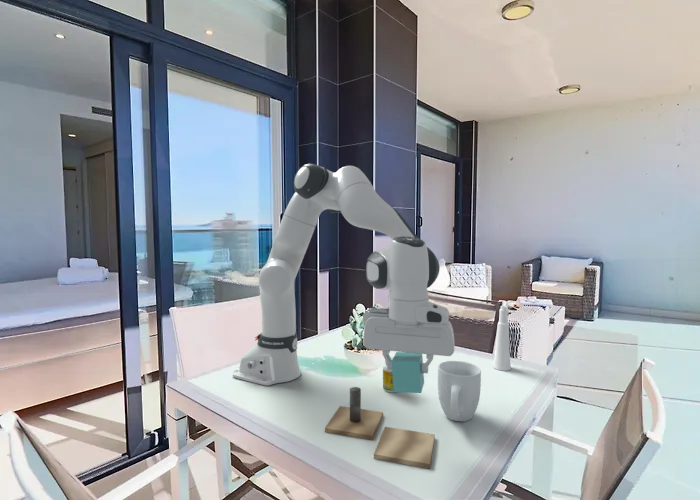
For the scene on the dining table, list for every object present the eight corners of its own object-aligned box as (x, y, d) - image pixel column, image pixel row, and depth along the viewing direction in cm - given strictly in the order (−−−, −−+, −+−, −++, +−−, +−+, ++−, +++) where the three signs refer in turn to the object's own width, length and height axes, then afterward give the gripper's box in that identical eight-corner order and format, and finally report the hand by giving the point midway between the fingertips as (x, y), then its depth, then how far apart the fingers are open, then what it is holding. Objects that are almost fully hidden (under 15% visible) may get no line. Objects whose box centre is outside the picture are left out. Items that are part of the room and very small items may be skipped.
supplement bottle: (392, 384, 125) (392, 354, 124) (403, 390, 120) (404, 359, 120) (379, 388, 122) (379, 357, 121) (390, 394, 118) (390, 363, 117)
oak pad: (373, 458, 86) (373, 454, 86) (385, 430, 97) (385, 426, 97) (429, 468, 83) (429, 464, 82) (434, 438, 94) (434, 434, 94)
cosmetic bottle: (488, 366, 140) (490, 305, 139) (501, 363, 143) (503, 303, 142) (502, 372, 135) (504, 309, 133) (514, 369, 138) (517, 307, 136)
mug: (477, 437, 94) (478, 384, 93) (431, 428, 98) (432, 377, 97) (480, 410, 108) (482, 363, 107) (440, 403, 112) (441, 358, 111)
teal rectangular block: (393, 391, 87) (391, 361, 87) (398, 381, 93) (396, 352, 93) (421, 393, 86) (418, 361, 85) (424, 382, 91) (422, 352, 91)
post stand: (324, 431, 97) (324, 396, 96) (340, 409, 108) (340, 377, 107) (372, 439, 93) (372, 403, 93) (383, 415, 105) (383, 382, 104)
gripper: (359, 310, 88) (359, 370, 89) (454, 316, 82) (453, 381, 83) (366, 304, 94) (366, 361, 95) (455, 309, 88) (454, 370, 89)
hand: (407, 370), depth 89 cm, fingers closed on teal rectangular block, 6 cm apart
